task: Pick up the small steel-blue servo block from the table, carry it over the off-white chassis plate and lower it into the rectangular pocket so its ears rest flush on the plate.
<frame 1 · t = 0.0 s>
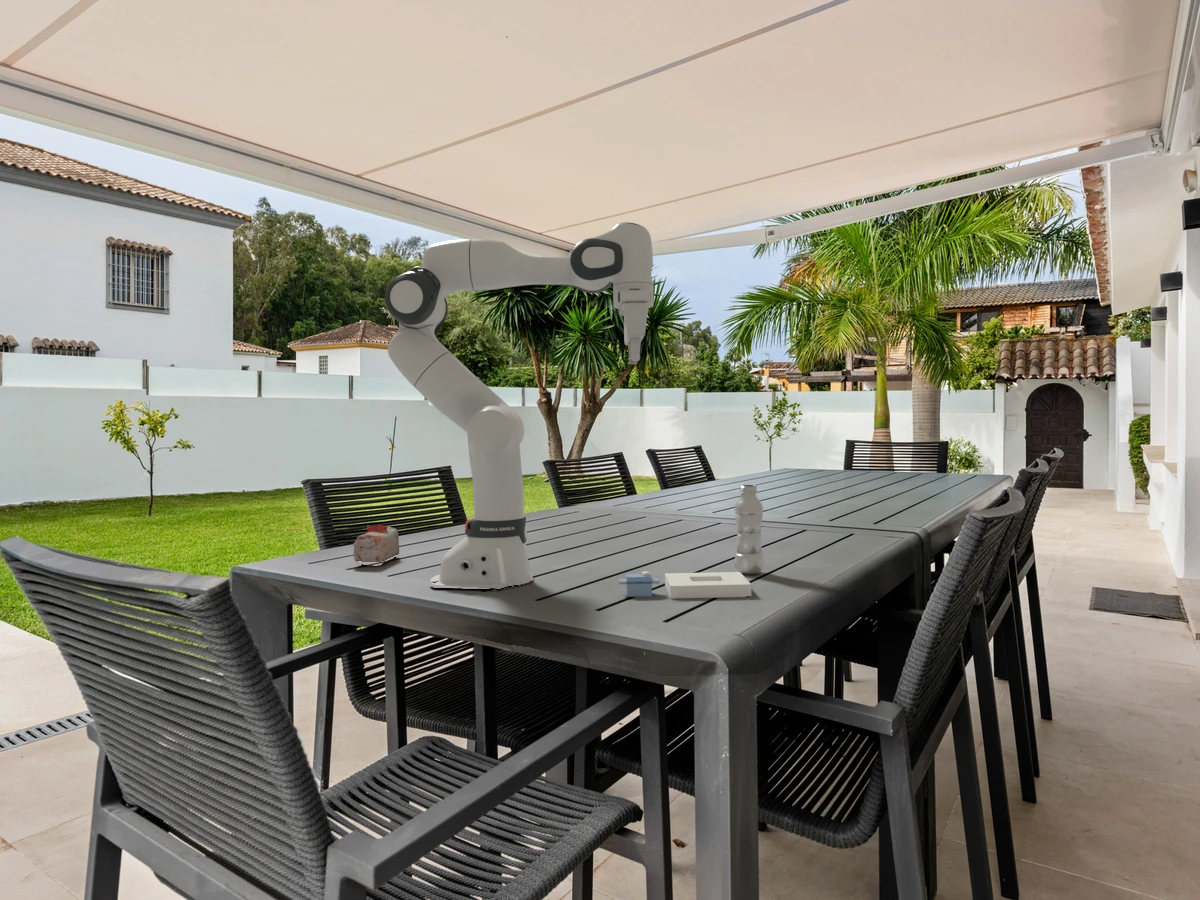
hand: (634, 362, 166), 48 cm above the table, tool pointing down, fingers open, 8 cm apart
servo: (639, 595, 153), on the table
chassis: (706, 590, 155), on the table
food item: (377, 563, 194), on the table
plastic bottle: (749, 574, 171), on the table
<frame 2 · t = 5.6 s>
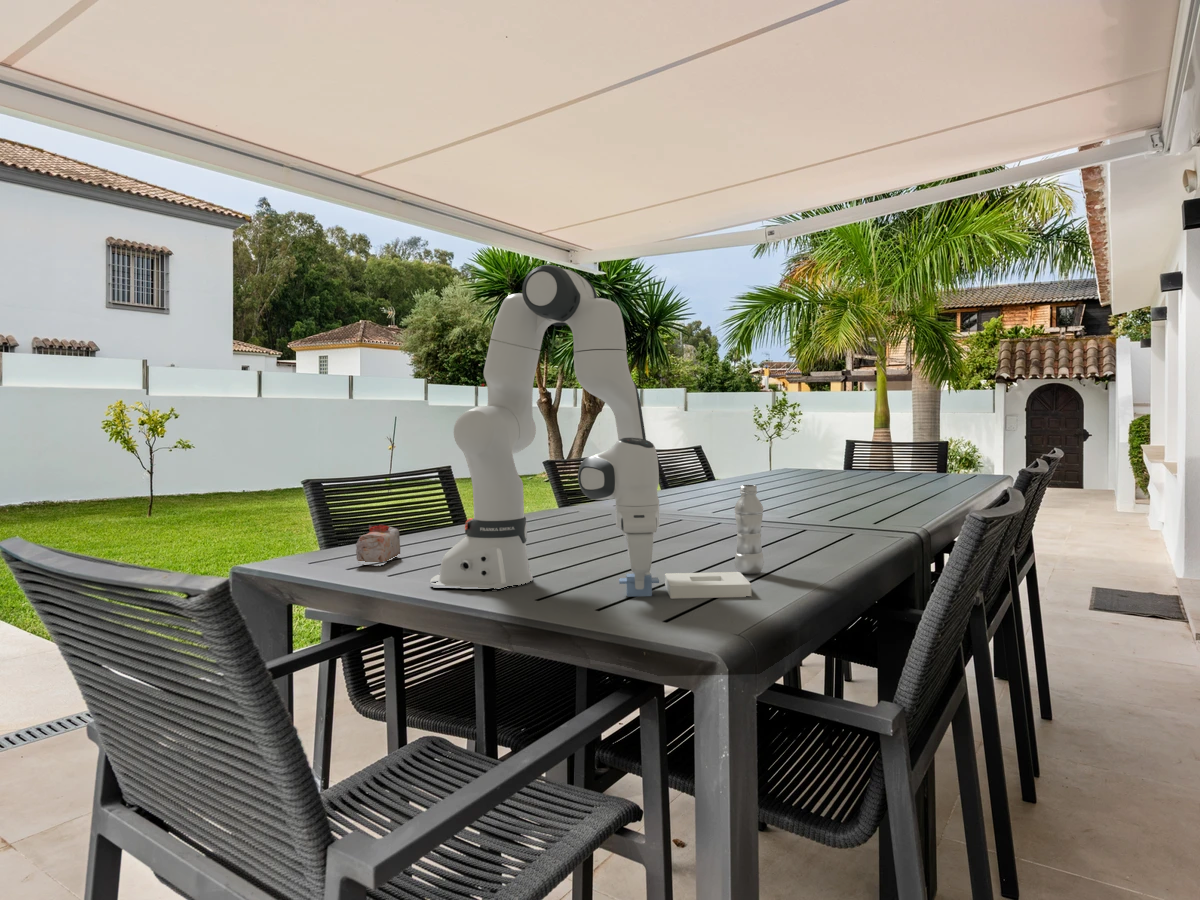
hand: (638, 586, 153), 2 cm above the table, tool pointing down, fingers closed on servo, 3 cm apart
servo: (639, 594, 153), on the table, touching gripper
everything else where it was.
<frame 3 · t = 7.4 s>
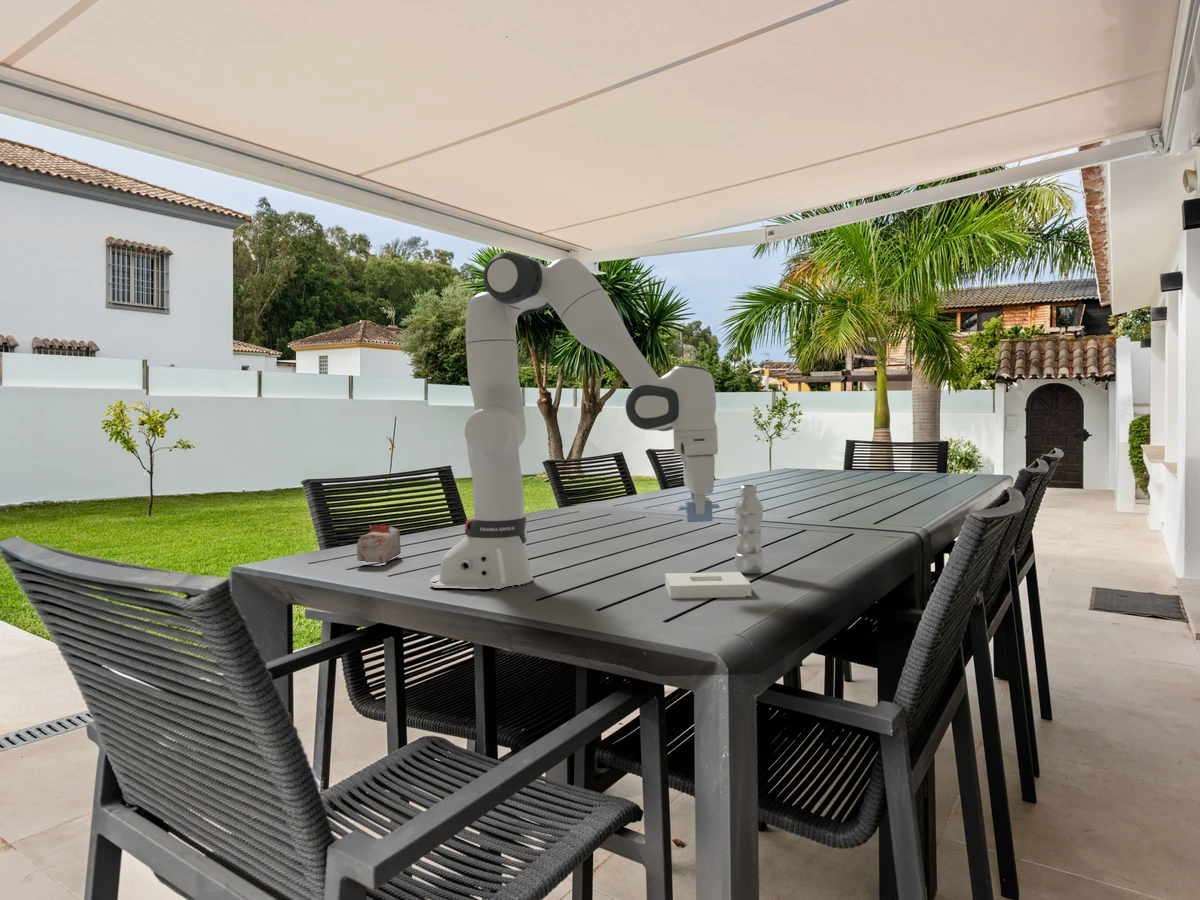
hand: (698, 512, 154), 16 cm above the table, tool pointing down, fingers closed on servo, 3 cm apart
servo: (699, 520, 154), point 15 cm above the table, touching gripper
everything else where it was.
when the fingers open (3 cm above the table, at t = 9.5 s): servo drops 2 cm, resting on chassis.
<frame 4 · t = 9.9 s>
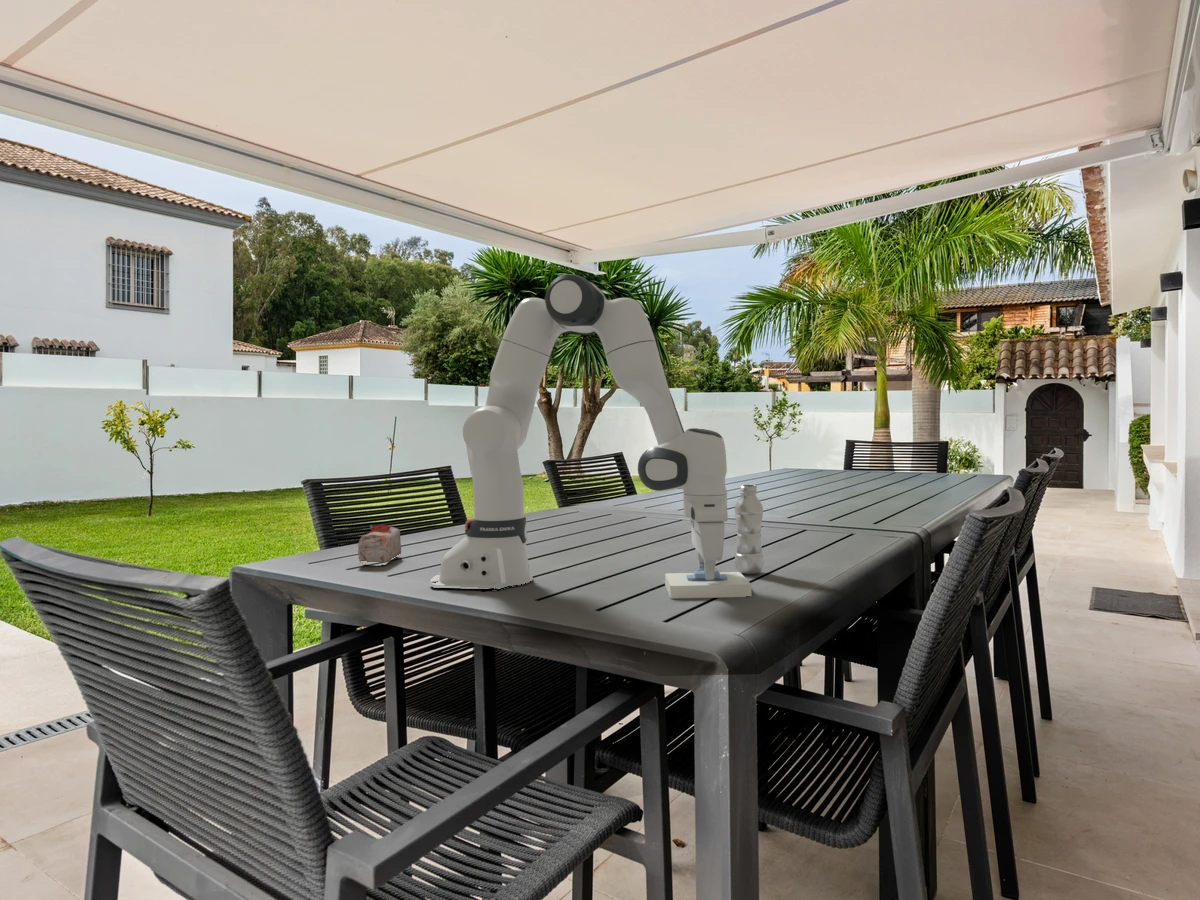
hand: (706, 574, 155), 3 cm above the table, tool pointing down, fingers open, 7 cm apart
servo: (706, 591, 155), resting on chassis
everything else where it was.
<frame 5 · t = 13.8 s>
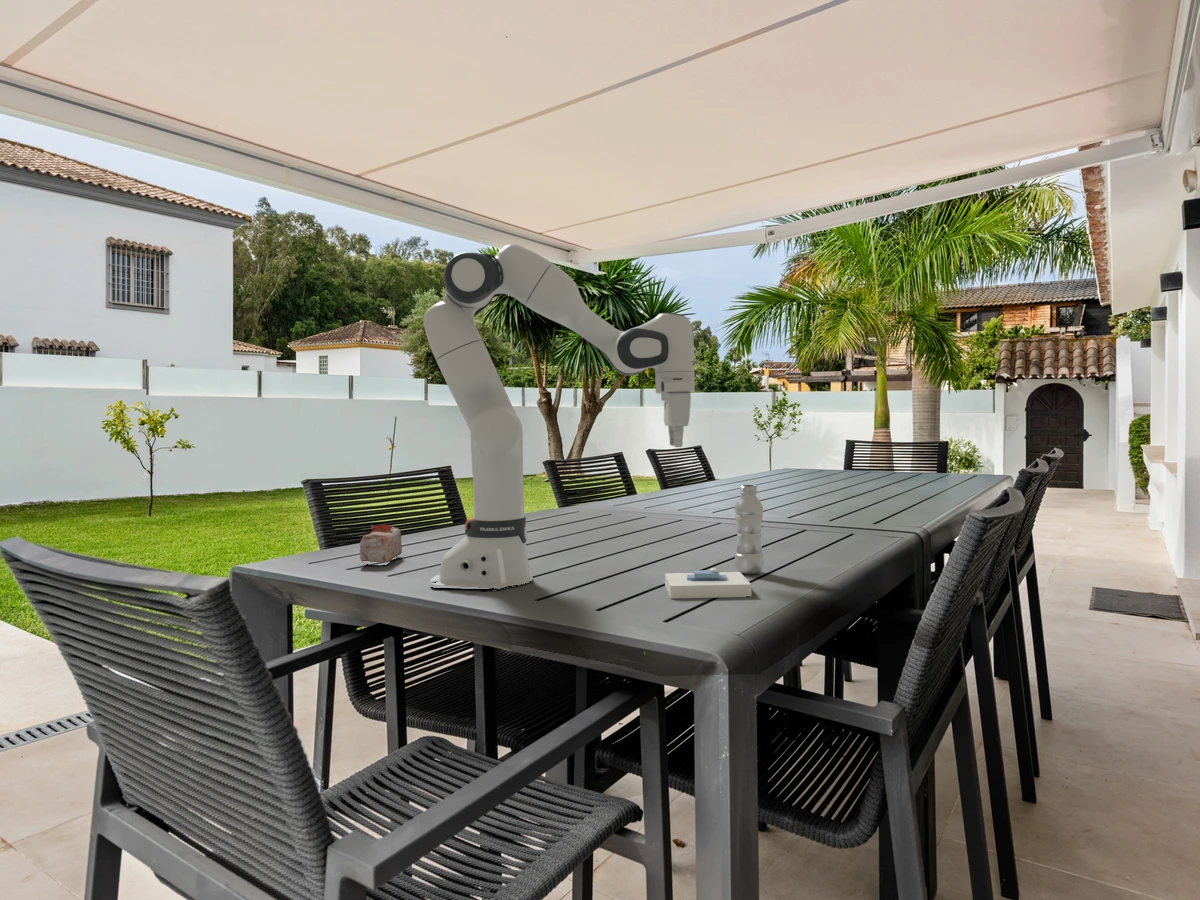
hand: (676, 446, 172), 29 cm above the table, tool pointing down, fingers open, 8 cm apart
at the end: servo 0.1 cm off-centre on the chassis, point 0.0 cm above the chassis's base; servo tilted 0°; the gripper is holding nothing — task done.
